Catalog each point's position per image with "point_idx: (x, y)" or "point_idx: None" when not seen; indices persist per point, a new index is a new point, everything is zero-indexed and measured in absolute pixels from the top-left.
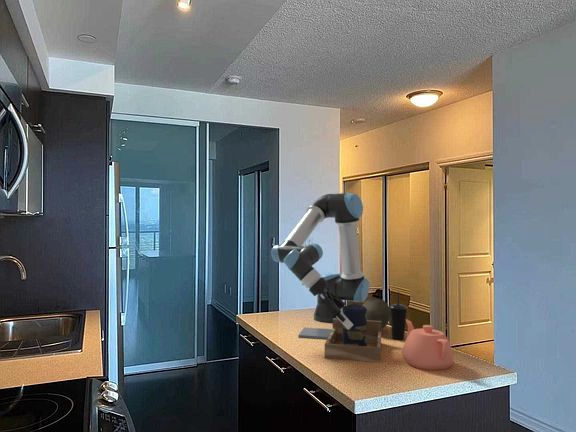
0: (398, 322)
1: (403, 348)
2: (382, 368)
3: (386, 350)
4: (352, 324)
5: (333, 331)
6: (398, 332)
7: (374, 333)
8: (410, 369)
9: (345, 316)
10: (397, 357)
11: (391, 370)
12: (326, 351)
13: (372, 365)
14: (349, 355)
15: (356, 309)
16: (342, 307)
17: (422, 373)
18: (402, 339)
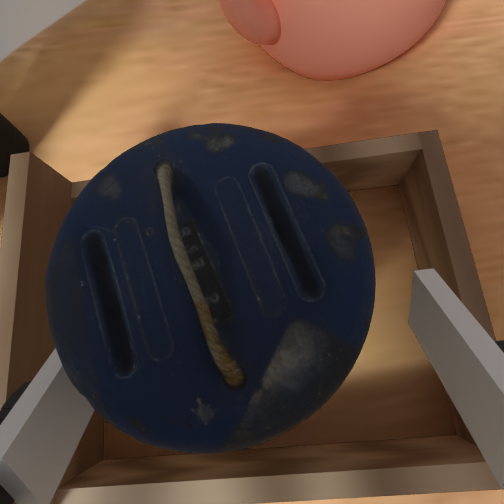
0: None
1: (360, 43)
2: (493, 147)
3: None
4: (437, 275)
5: (142, 489)
6: (3, 127)
7: None
8: (445, 54)
9: (493, 347)
10: (302, 116)
11: (500, 112)
12: None
13: (473, 191)
14: None
15: (350, 212)
16: (3, 488)
17: (472, 14)
18: (21, 133)
